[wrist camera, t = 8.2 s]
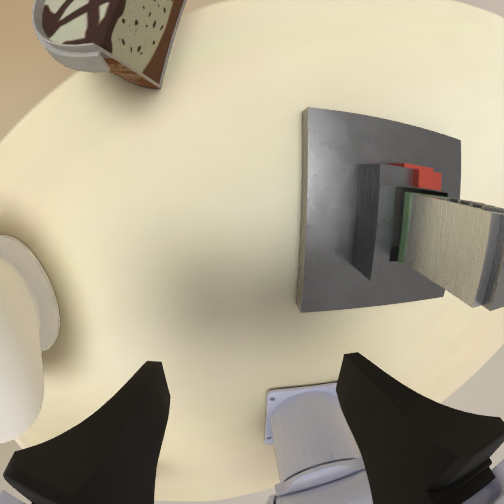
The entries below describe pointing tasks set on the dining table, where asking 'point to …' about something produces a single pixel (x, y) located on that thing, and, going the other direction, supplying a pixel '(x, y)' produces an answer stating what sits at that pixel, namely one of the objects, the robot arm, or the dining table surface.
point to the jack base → (365, 207)
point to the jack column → (455, 246)
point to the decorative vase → (23, 335)
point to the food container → (110, 35)
